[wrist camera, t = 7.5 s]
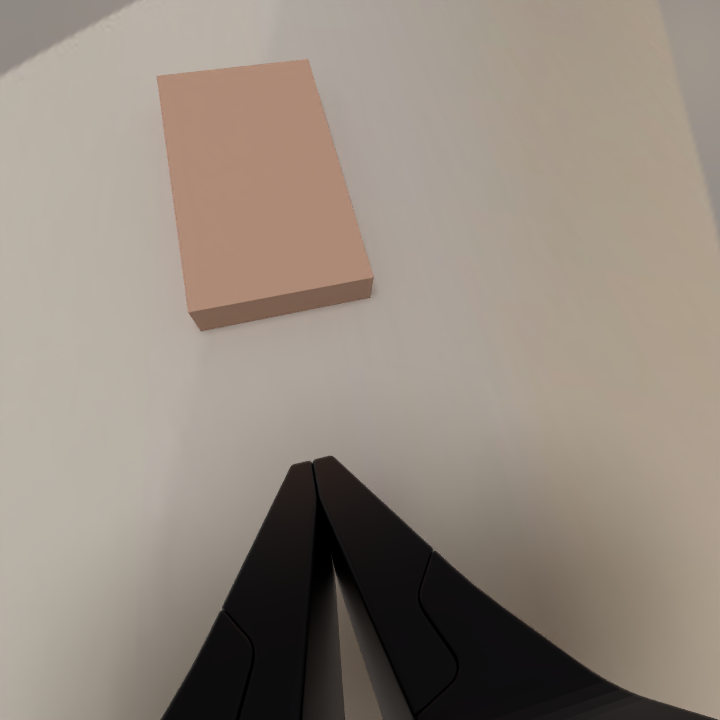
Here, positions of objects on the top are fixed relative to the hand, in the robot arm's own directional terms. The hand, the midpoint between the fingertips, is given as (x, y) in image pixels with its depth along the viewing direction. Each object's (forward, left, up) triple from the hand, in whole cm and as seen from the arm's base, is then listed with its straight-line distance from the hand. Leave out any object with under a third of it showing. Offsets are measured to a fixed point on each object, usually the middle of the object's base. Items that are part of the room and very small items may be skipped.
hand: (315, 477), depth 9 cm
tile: (+7, -4, -9) cm, 12 cm away
